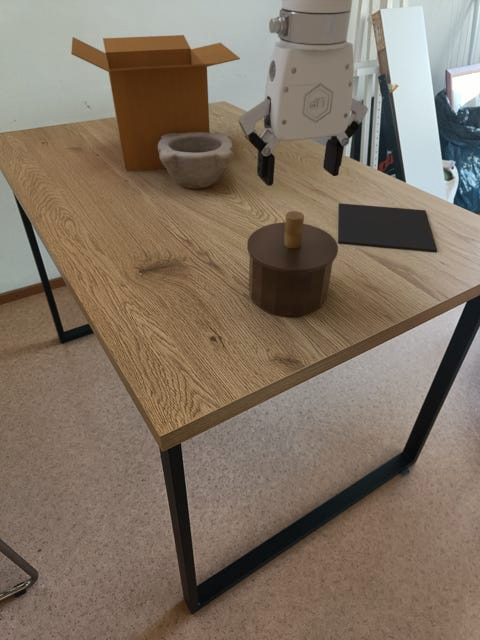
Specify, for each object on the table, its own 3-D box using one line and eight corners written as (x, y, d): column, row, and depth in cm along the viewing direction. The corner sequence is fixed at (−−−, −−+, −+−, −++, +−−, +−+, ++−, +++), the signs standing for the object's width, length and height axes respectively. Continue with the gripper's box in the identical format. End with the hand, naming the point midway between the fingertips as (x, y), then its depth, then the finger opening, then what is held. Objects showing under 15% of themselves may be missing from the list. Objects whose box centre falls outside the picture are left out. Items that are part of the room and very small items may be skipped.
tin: (313, 267, 79) (319, 224, 74) (337, 312, 70) (346, 266, 65) (243, 274, 78) (243, 230, 72) (258, 321, 68) (260, 275, 63)
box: (214, 123, 139) (211, 24, 122) (250, 174, 110) (252, 54, 93) (93, 133, 131) (72, 29, 115) (97, 190, 103) (70, 63, 86)
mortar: (231, 166, 114) (231, 128, 108) (234, 195, 101) (234, 154, 95) (164, 167, 113) (160, 129, 107) (158, 197, 100) (153, 156, 94)
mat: (424, 212, 95) (425, 210, 95) (436, 252, 83) (437, 250, 83) (338, 205, 98) (339, 203, 97) (338, 243, 86) (338, 241, 85)
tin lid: (320, 225, 75) (325, 191, 71) (350, 271, 65) (357, 234, 61) (240, 232, 73) (240, 197, 69) (257, 281, 63) (258, 243, 59)
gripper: (254, 39, 45) (249, 198, 57) (399, 31, 50) (368, 179, 61) (229, 27, 51) (229, 174, 62) (363, 21, 55) (340, 159, 66)
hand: (298, 176), depth 61 cm, fingers open, 9 cm apart
